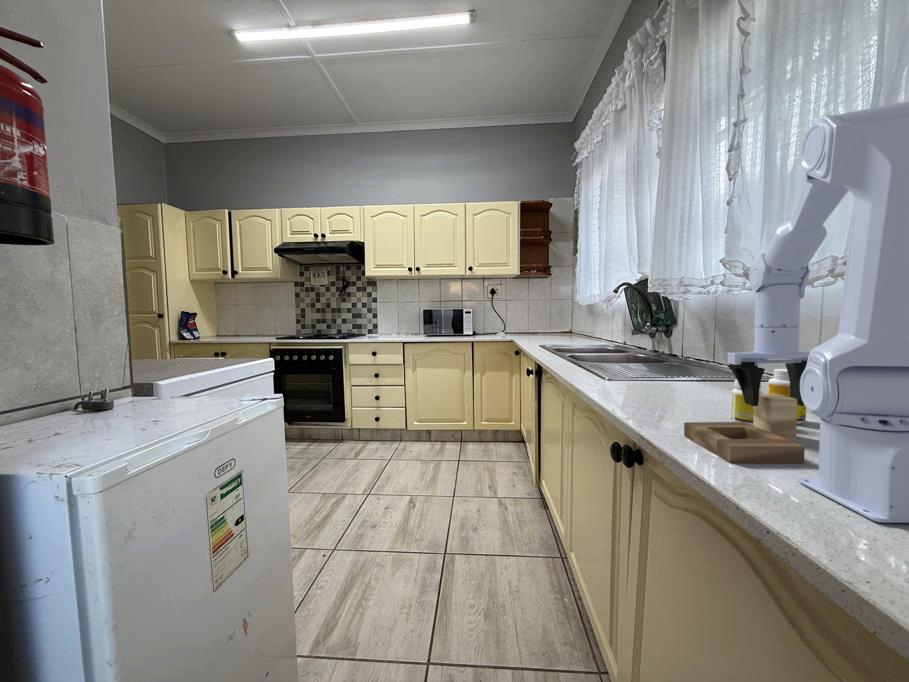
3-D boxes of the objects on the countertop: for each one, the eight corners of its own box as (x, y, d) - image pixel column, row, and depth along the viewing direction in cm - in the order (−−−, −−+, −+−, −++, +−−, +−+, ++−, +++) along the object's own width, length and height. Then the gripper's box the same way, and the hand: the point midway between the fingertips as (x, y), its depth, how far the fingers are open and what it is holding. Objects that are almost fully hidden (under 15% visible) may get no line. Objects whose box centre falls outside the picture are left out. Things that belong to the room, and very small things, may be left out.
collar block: (804, 463, 51) (804, 446, 51) (729, 462, 52) (730, 446, 52) (743, 435, 63) (743, 421, 63) (684, 436, 64) (684, 422, 64)
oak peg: (796, 439, 60) (797, 399, 60) (770, 439, 61) (771, 399, 60) (777, 432, 64) (777, 394, 64) (753, 432, 65) (754, 394, 64)
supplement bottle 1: (768, 426, 68) (769, 382, 67) (740, 426, 68) (740, 382, 68) (753, 419, 72) (753, 378, 72) (726, 419, 73) (727, 378, 73)
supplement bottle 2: (805, 427, 67) (807, 372, 66) (766, 421, 71) (767, 370, 70) (806, 420, 71) (807, 369, 70) (768, 415, 75) (769, 367, 74)
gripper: (801, 324, 65) (799, 398, 66) (716, 327, 66) (715, 399, 67) (839, 325, 58) (836, 408, 59) (744, 328, 59) (742, 409, 60)
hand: (774, 404), depth 62 cm, fingers open, 7 cm apart
